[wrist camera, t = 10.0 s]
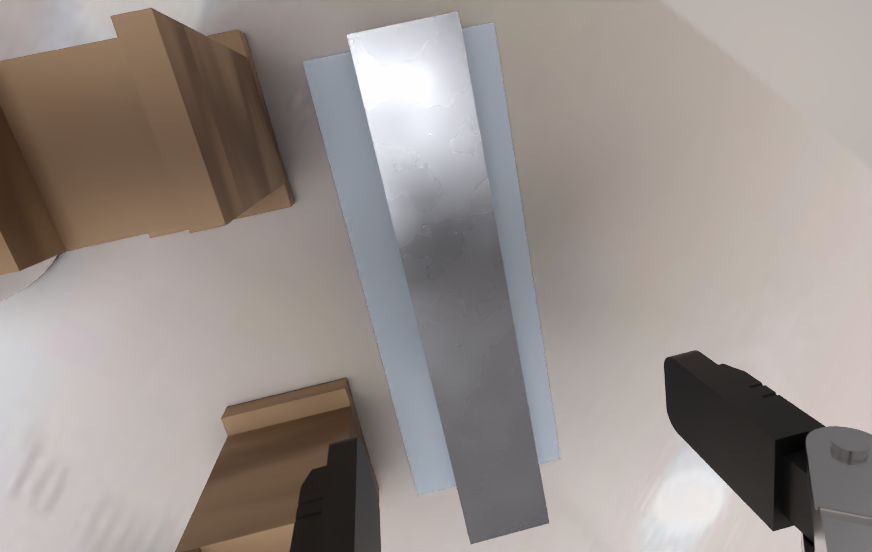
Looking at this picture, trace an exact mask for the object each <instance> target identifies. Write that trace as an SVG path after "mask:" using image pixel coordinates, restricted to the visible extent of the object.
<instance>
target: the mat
mask: <svg viewBox="0 0 872 552" xmlns="http://www.w3.org/2000/svg"><path fill="white" fill-rule="evenodd" d="M462 34H463V39H464V45H465V51H466V56H467V62H468V68H469V73H470V79H471V85H472V90H473V96H474V102H475V107H476V113H477V118H478V124H479V130H480V135H481V141H482V147H483V152H484V158H485V164H486V169H487V175H488V181H489V186H490V192H491V197H492V203H493V209H494V214H495V220H496V226H497V231H498V237H499V243H500V248H501V254H502V260H503V265H504V271H505V276H506V282H507V288H508V293H509V299H510V305H511V310H512V316H513V322H514V327H515V333H516V338H517V344H518V350H519V355H520V361H521V367H522V372H523V378H524V384H525V389H526V395H527V401H528V406H529V412H530V417H531V423H532V429H533V434H534V440H535V446H536V451H537V457H538V463H539V464H543V463H547V462H551V461H555V460H559V459H560V452H559V446H558V439H557V433H556V426H555V420H554V413H553V406H552V400H551V393H550V387H549V380H548V373H547V367H546V360H545V354H544V347H543V341H542V334H541V327H540V321H539V314H538V308H537V301H536V294H535V288H534V281H533V275H532V268H531V262H530V255H529V248H528V242H527V235H526V229H525V222H524V215H523V209H522V202H521V196H520V189H519V183H518V176H517V169H516V163H515V156H514V150H513V143H512V137H511V130H510V123H509V117H508V110H507V104H506V97H505V90H504V84H503V77H502V71H501V64H500V58H499V51H498V44H497V38H496V31H495V25H494V22H490V23H485V24H481V25H476V26H471V27H466V28H462ZM302 63H303V66H304V70H305V74H306V78H307V81H308V85H309V89H310V93H311V96H312V100H313V104H314V108H315V111H316V115H317V119H318V123H319V126H320V130H321V134H322V138H323V142H324V145H325V149H326V153H327V157H328V160H329V164H330V168H331V172H332V175H333V179H334V183H335V187H336V190H337V194H338V198H339V202H340V205H341V209H342V213H343V217H344V220H345V224H346V228H347V232H348V236H349V239H350V243H351V247H352V251H353V254H354V258H355V262H356V266H357V269H358V273H359V277H360V281H361V284H362V288H363V292H364V296H365V299H366V303H367V307H368V311H369V315H370V318H371V322H372V326H373V330H374V333H375V337H376V341H377V345H378V348H379V352H380V356H381V360H382V363H383V367H384V371H385V375H386V378H387V382H388V386H389V390H390V393H391V397H392V401H393V405H394V409H395V412H396V416H397V420H398V424H399V427H400V431H401V435H402V439H403V442H404V446H405V450H406V454H407V457H408V461H409V465H410V469H411V472H412V476H413V480H414V484H415V487H416V491H417V495H418V496H419V495H423V494H427V493H431V492H435V491H438V490H442V489H446V488H450V487H454V486H456V482H455V477H454V473H453V469H452V465H451V461H450V457H449V453H448V449H447V445H446V440H445V436H444V432H443V428H442V424H441V420H440V416H439V412H438V408H437V403H436V399H435V395H434V391H433V387H432V383H431V379H430V375H429V371H428V366H427V362H426V358H425V354H424V350H423V346H422V342H421V338H420V334H419V329H418V325H417V321H416V317H415V313H414V309H413V305H412V301H411V297H410V292H409V288H408V284H407V280H406V276H405V272H404V268H403V264H402V259H401V255H400V251H399V247H398V243H397V239H396V235H395V231H394V227H393V222H392V218H391V214H390V210H389V206H388V202H387V198H386V194H385V190H384V185H383V181H382V177H381V173H380V169H379V165H378V161H377V157H376V153H375V148H374V144H373V140H372V136H371V132H370V128H369V124H368V120H367V116H366V111H365V107H364V103H363V99H362V95H361V91H360V87H359V83H358V78H357V74H356V70H355V66H354V62H353V58H352V54H351V51H350V52H345V53H341V54H336V55H331V56H326V57H321V58H317V59H312V60H307V61H302Z"/></svg>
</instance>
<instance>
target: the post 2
mask: <svg viewBox="0 0 872 552" xmlns="http://www.w3.org/2000/svg"><path fill="white" fill-rule="evenodd" d="M221 420H222V422H223V425H224V427H225V430H226V432H227V435H228V437H227V439H226V442H225V444H224V446H223V448H222V450H221V452H220V455H219V457H218V459H217V461H216V463H215V466H214V468H213V470H212V472H211V474H210V477H209V479H208V481H207V483H206V485H205V487H204V490H203V492H202V494H201V496H200V498H199V501H198V503H197V505H196V507H195V509H194V512H193V514H192V516H191V518H190V520H189V523H188V525H187V527H186V529H185V531H184V533H183V536H182V538H181V540H180V542H179V544H178V547H177V549H176V551H175V552H290V546H291V541H292V535H293V529H294V523H295V522H296V512H297V507H298V500H299V495H300V489H301V485H302V484H303V482H304V481H305V479H306V478H307V476H308V475H309V473H310V472H311V470H312V469H315V468H319V467H322V466H326V465H327V458H328V449H329V444H330V443H332V442H336V441H340V440H344V439H347V438H351V437H355V436H360V438H361V440H362V443H363V447H364V450H365V453H366V456H367V460H368V463H369V466H370V470H371V473H372V476H373V479H374V483H375V486H376V490H377V495H378V501H379V488H378V485H377V482H376V478H375V475H374V471H373V468H372V465H371V461H370V458H369V454H368V451H367V448H366V444H365V441H364V438H363V434H362V431H361V427H360V424H359V421H358V417H357V414H356V410H355V407H354V404H353V400H352V397H351V393H350V390H349V387H348V383H347V380H346V378H345V379H341V380H337V381H333V382H329V383H325V384H320V385H316V386H312V387H308V388H304V389H300V390H296V391H292V392H288V393H283V394H279V395H275V396H271V397H267V398H263V399H259V400H255V401H251V402H246V403H242V404H238V405H234V406H230V407H227V408H226V410H225V412H224V414H223V416H222V418H221Z"/></svg>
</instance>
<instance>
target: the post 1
mask: <svg viewBox="0 0 872 552" xmlns="http://www.w3.org/2000/svg"><path fill="white" fill-rule="evenodd" d="M110 17H111V19H112V22H113V25H114V27H115V30H116V33H117V36H118V38H113V39H108V40H103V41H98V42H93V43H88V44H83V45H78V46H73V47H68V48H64V49H59V50H54V51H49V52H44V53H39V54H34V55H29V56H24V57H19V58H14V59H9V60H4V61H0V275H5V274H9V273H13V272H18V271H21V270H23V269H26V268H28V267H31V266H33V265H35V264H38V263H40V262H42V261H45V260H47V259H49V258H52V257H54V256H56V255H59V254H61V253H63V252H66V251H70V250H75V249H79V248H84V247H88V246H93V245H97V244H102V243H106V242H111V241H115V240H120V239H124V238H129V237H133V236H138V235H142V234H147V233H148V234H149V237H150V238H153V237H157V236H162V235H166V234H171V233H175V232H180V231H184V230H189V232H190V233H193V232H197V231H202V230H206V229H211V228H215V227H220V226H224V225H227V224H228V223H229V222H231V221H232V220H234V219H238V218H243V217H247V216H252V215H256V214H261V213H265V212H270V211H274V210H279V209H283V208H287V207H291V206H292V205H293V204H294V200H293V196H292V193H291V190H290V186H289V183H288V179H287V176H286V173H285V169H284V166H283V162H282V159H281V156H280V152H279V149H278V145H277V142H276V139H275V135H274V132H273V128H272V125H271V122H270V118H269V115H268V111H267V108H266V105H265V101H264V98H263V94H262V91H261V88H260V84H259V81H258V77H257V74H256V71H255V67H254V64H253V60H252V57H251V54H250V50H249V47H248V43H247V40H246V37H245V34H244V33H243V32H241V31H240V30H234V31H229V32H224V33H219V34H214V35H209V36H205V35H203V34H201V33H199V32H197V31H195V30H193V29H191V28H189V27H187V26H185V25H183V24H181V23H179V22H178V21H176V20H174V19H172V18H170V17H168V16H166V15H164V14H162V13H160V12H158V11H156V10H154V9H152V8H149V9H144V10H139V11H134V12H128V13H123V14H118V15H113V16H110Z"/></svg>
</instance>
